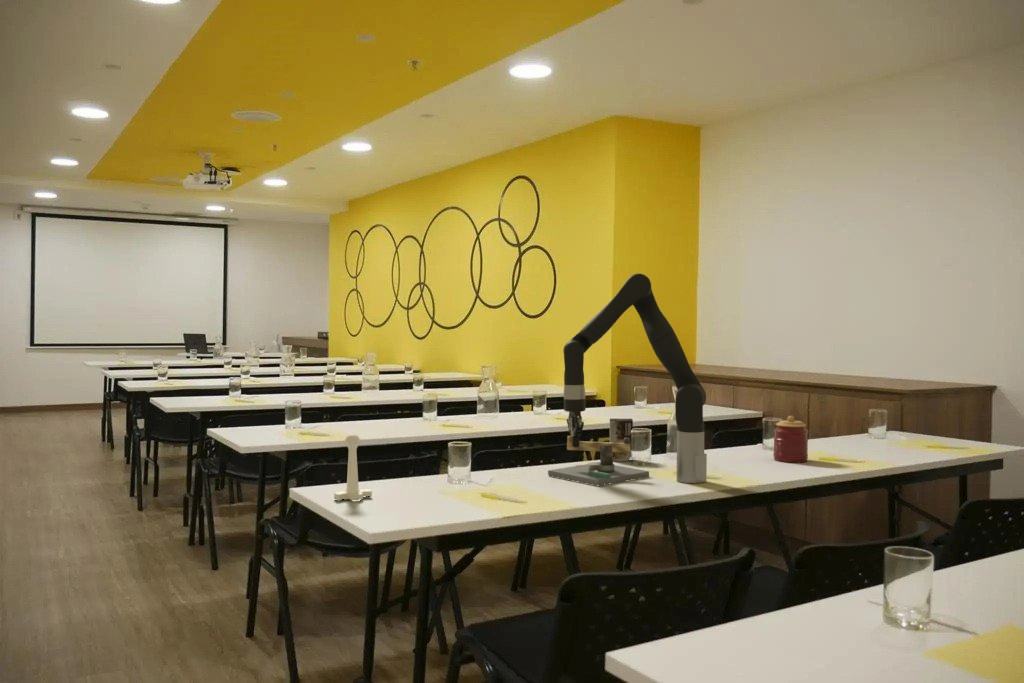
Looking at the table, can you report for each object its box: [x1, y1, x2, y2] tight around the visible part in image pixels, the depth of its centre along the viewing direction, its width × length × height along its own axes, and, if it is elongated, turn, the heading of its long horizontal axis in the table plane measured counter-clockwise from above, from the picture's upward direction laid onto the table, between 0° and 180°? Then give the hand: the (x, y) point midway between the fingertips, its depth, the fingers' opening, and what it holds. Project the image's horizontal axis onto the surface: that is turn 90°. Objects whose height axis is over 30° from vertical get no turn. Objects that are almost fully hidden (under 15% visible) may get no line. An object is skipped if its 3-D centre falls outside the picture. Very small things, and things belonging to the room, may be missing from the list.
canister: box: [773, 415, 809, 464], centre depth 335 cm, size 13×13×18 cm
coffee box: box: [609, 418, 634, 462], centre depth 334 cm, size 9×6×16 cm
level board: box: [547, 463, 650, 486], centre depth 300 cm, size 24×26×4 cm
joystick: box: [333, 433, 373, 501], centre depth 261 cm, size 11×8×20 cm
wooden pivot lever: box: [566, 435, 630, 472], centre depth 300 cm, size 22×9×12 cm, turn 76°
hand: (575, 446), depth 299 cm, fingers closed
